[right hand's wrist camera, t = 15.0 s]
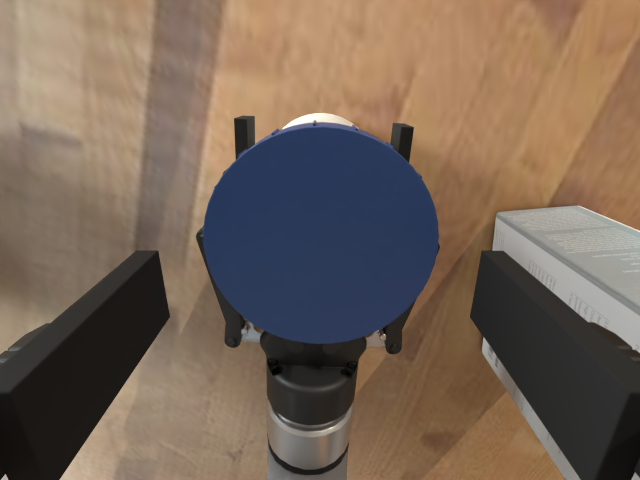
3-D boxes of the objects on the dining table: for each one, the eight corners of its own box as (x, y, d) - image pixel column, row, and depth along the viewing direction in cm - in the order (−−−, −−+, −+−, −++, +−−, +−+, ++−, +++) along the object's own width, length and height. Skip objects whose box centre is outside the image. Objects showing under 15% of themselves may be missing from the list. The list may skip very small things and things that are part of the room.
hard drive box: (555, 346, 37) (785, 597, 19) (479, 352, 38) (633, 605, 19) (582, 201, 31) (957, 357, 13) (492, 209, 32) (733, 373, 13)
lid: (238, 89, 15) (225, 89, 13) (461, 157, 16) (481, 167, 14) (200, 291, 19) (185, 316, 17) (384, 336, 20) (391, 364, 18)
